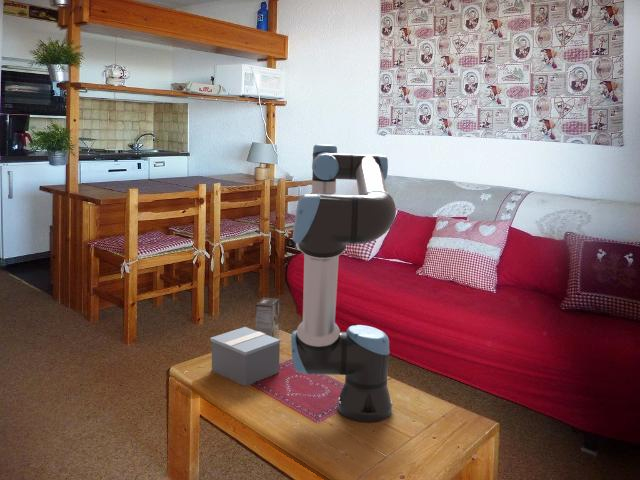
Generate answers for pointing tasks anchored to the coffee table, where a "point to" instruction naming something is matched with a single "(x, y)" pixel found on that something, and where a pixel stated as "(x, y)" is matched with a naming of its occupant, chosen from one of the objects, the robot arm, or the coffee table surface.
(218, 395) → the coffee table surface
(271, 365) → the block
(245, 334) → the lid
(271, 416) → the coffee table surface
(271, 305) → the coffee box
